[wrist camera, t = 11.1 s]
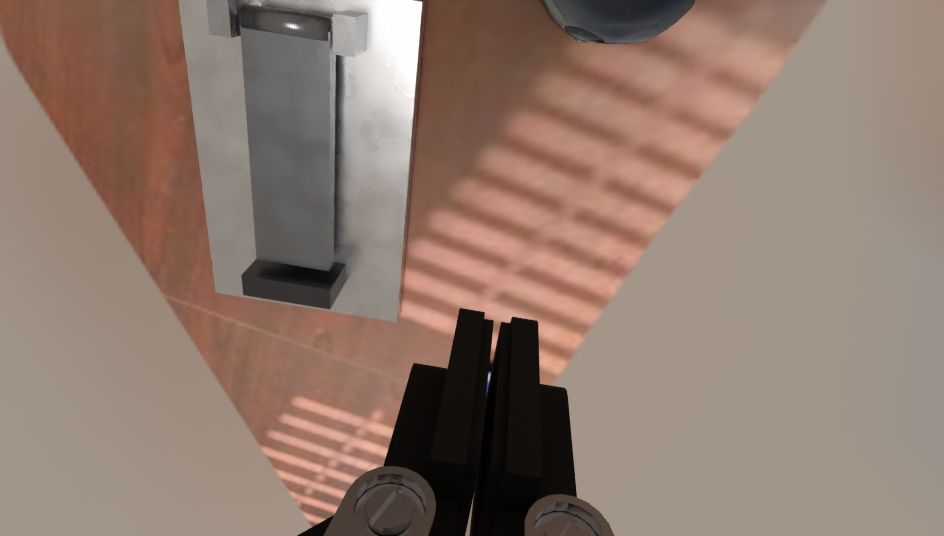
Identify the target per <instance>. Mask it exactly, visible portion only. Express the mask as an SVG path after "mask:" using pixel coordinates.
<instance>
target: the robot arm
mask: <svg viewBox="0 0 944 536" xmlns="http://www.w3.org/2000/svg"><path fill="white" fill-rule="evenodd" d="M484 314H485V312H480V311H474V310H468V309H462V308H460V310H459V315H458V320H457V325H456V330H455V335H454V340H453V345H452V350H451V355H450V360H449V365H448V369H447V368H441V367H435V366H429V365H423V364H417V363H414V364H413V366H412V369H411V372H410V376H409V379H408V383H407V386H406V390H405V393H404V397H403V400H402V404H401V407H400V411H399V414H398V418H397V421H396V424H395V428H394V431H393V435H392V438H391V442H390V445H389V449H388V452H387V456H386V459H385V463H384V466H383V467H379V468H376V469H373V470H371V471H368V472H366V473H364V474H363V475H362V476H360V477H359V478H358V479H356V480H355V481H354V483H353V484H352V485H351V487H350V488H349V489H348V491H347V492H346V494H345V496H344V498H343V500H342V502H341V504H340V506H339V507H338V509H337V511H336V513H335V515H333V516H332V517H330V518H328V519H326V520H324V521H323V522H321V523H319V524H317V525H315V526H314V527H312V528H310V529H308V530H307V531H305V532H303V533H301V534H299V535H298V536H465V533H466V528H467V523H468V519H469V514H470V509H471V504H472V500H473V508H472V517H471V527H470V536H614V534H613V532H612V530H611V528H610V525H609V523H608V522H607V521H606V519H605V518H604V517H603V516H602V514H601V513H600V512H599V511H598V510H597V509H595V508H594V507H593V506H591V505H590V504H589V503H587V502H585V501H583V500H581V499H579V498H577V494H576V483H575V472H574V461H573V450H572V439H571V427H570V417H569V407H568V395H567V390H566V389H565V388H561V387H556V386H550V385H543V384H540V376H539V339H538V321H535V320H529V319H523V318H517V317H512V319H511V323H505V322H501V325H500V330H499V335H498V340H497V345H496V350H495V355H494V360H493V365H492V370H491V375H490V380H489V385H488V390H487V384H488V374H489V363H490V353H491V343H492V333H493V322H494V321H493V320H487V319H484ZM486 394H487V395H486ZM473 495H474V498H473Z"/></svg>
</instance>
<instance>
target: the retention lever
mask: <svg viewBox="0 0 944 536" xmlns="http://www.w3.org/2000/svg"><path fill="white" fill-rule="evenodd" d="M239 20H240V34H241V48H242V62H243V77H244V91H245V105H246V119H247V133H248V147H249V161H250V175H251V189H252V203H253V218H254V232H255V246H256V259H258V260H264V261H270V262H276V263H282V264H288V265H294V266H300V267H307V268H313V269H319V270H325V271H329V270H330V269H331V267H332V266H333V264H334V184H335V83H336V55H335V54H333V17H328V16H322V15H315V14H309V13H303V12H296V11H290V10H284V9H277V8H271V7H265V6H258V5H252V4H246V3H244V4H242V6H241V8H240V13H239Z"/></svg>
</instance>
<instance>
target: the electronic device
mask: <svg viewBox="0 0 944 536" xmlns="http://www.w3.org/2000/svg"><path fill="white" fill-rule="evenodd" d="M694 1H695V0H543V2H544V4H545V6H546V8H547V10H548V11H549V13H550V14H551V16H552V17H553V18H554V20H555V21H556V22H557V23H558V24H559V25H560V26H561V27H562V28H563V29H564V30H565V31H566V32H568V33H569V34H570V35H572V36H574V37H575V38H577V43H584V42H594V43H605V44H629V43H641V42H645V41H649V40H651V39H652V38H653V37H655V36H657V35H658V34H660V33H662V32H663V31H665V30H667V29H668V28H669V27H671V26H672V25H673V24H674V23H676V22H677V21H678V20H679V19H680V18H681V17H682V16H684V15H685V14H686V13H687V12H688V11H689V10H690V9H691V7H692V6H693V4H694Z"/></svg>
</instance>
